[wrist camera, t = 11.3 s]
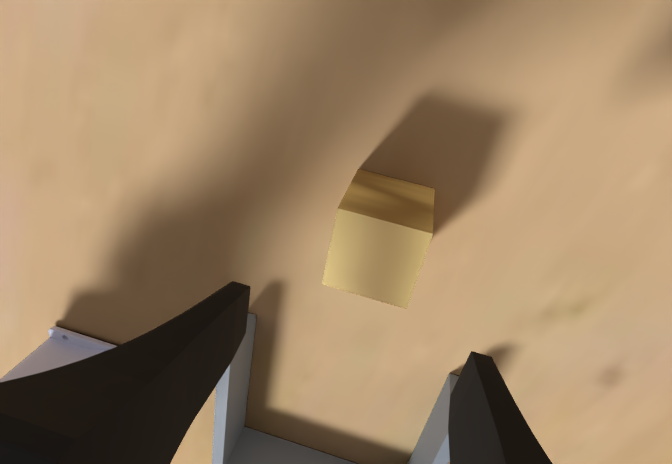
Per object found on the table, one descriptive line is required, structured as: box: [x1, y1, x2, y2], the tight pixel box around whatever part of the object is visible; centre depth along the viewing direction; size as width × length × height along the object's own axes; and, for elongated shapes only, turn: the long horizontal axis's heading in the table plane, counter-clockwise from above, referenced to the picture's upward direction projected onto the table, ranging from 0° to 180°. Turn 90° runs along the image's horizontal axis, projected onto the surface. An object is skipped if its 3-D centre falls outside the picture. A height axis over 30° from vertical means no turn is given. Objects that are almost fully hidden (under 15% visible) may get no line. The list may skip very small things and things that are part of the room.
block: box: [322, 169, 435, 309], centre depth 20 cm, size 4×4×5 cm
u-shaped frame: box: [212, 313, 459, 464], centre depth 28 cm, size 15×13×4 cm
